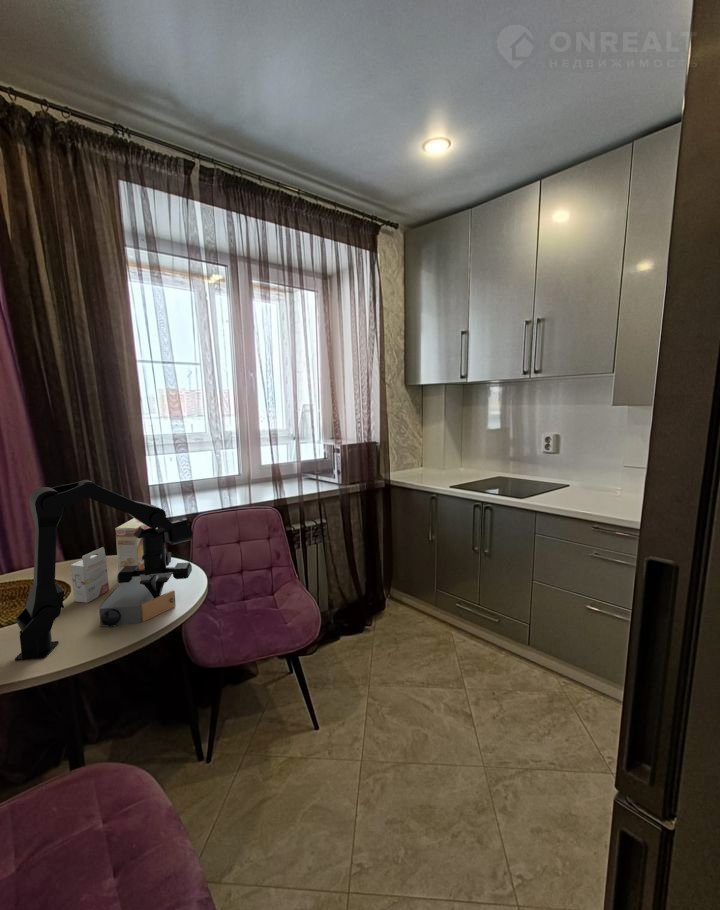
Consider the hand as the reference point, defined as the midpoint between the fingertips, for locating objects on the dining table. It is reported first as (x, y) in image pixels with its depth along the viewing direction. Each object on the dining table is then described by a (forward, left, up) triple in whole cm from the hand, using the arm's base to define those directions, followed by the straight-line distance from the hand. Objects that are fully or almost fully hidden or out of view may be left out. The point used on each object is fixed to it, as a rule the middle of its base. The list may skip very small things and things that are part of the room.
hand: (157, 600), depth 121 cm
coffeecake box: (+24, +12, -3) cm, 28 cm away
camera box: (+2, +7, -3) cm, 8 cm away
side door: (-4, -1, -2) cm, 5 cm away
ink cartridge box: (+11, +22, -3) cm, 25 cm away
